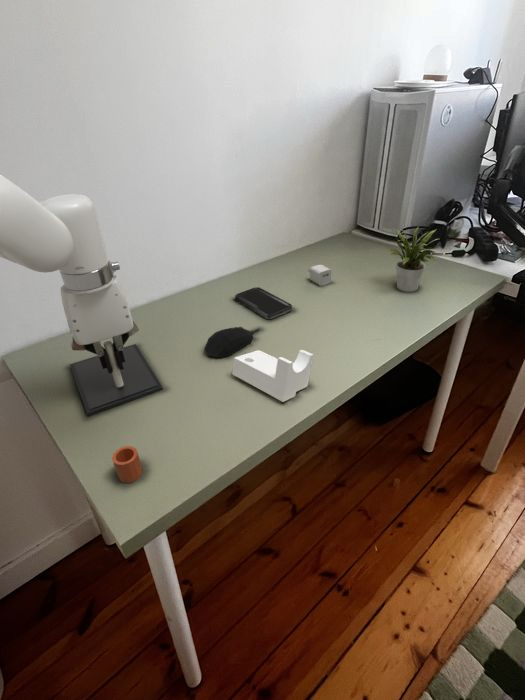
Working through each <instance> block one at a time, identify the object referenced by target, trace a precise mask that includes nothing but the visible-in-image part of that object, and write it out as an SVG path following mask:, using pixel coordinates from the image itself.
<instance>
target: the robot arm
mask: <svg viewBox="0 0 525 700" xmlns="http://www.w3.org/2000/svg"><path fill="white" fill-rule="evenodd" d="M94 205H95V204H94V203H93V200H92V199H90V198H89V196H87V195H84V194H80V193H79V194H78V193H67V194H61V195H56V196H52V197H49V198H47V199H45V200H44V201H38V200H36V199H35V198H34V197H33V196H31V195H30V194H29V193H27V192H26V191H25V190H24V189H22V188H21V187H19V186H18V185H17V184H15V183H14V182H12V180H10V179H8V178H6V177H5V176H4V175H2V174H0V258H2V259H5V260H7V261H10V262H12V263H14V264H18V265H20V266H22V267H24V268H26V269H29V270H31V271H33V272H38V273H53V272H57V271H59V274H60V276H61V279H62V283H63V285H62V286H61V287H60V296H61V303H62V308H63V311H64V315H65V319H66V322H67V325H68V328H69V332H70V334H71V335H70V348H71V350H72V351H74V352H75V351H87V352H89V353H92V354H94V355H96V356H99V359H100V362H101V365H102V368H103V369H105V368H107V370H108V372H109V374H110V373H112V372H113V370H112V367H111V364H110V360H109V357H108V354H107V352H106V351H105V348H104V346H102V344H101V341H106V340H108V339H112V345H113V349H114V353H115V357H116V360H117V364H118V367H119V369H121V370H122V369H124V367H123V364H122V363H123V362H125V358H124V355H123V351H122V350H123V348H124V347H125V344H126V343H127V342H128V340H129V338H130V337H132V336H133V335H135V334H136V333H137V332H139V331H140V328H139V326H138V325H137V324H136V322H135V321H134V320H133V319H134V318H133V315H132V312H131V310H130V307H129V303H128V300H127V298H126V295H125V293H124V290H123V288H122V285H121V283H120V280H119V279H118V277H117V275H116V274H115V272H116V271H119V270H121V267H120V265H119V261H111V260H109V258H108V257H109V256H108V253H107V250H106V245H105V242H104V238H103V234H102V230H101V227H100V222H99V219H98V215H97V212H96V208H95V206H94Z"/></svg>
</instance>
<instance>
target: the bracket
mask: <svg viewBox="0 0 525 700" xmlns="http://www.w3.org/2000/svg"><path fill="white" fill-rule="evenodd" d="M313 360H314V354H313V353H311V352H309V351H306V350H304V349H300V350H299V351H298V354H297V357H296V359H295V360H294V361H291V360H289V359H287V358H285V357H283V356H279V357H278V358H276V357H274V356H273V355H270V354H268V353H266V352H264V351H262V350H260V349H258V350H253V351H250V352H248V353H245V354H241V355H238V356H235V357H233V364H232V372H231V374H232V375H233V376H235V377H236V378H238V379H240V380H241V381H243V382H245V383H247V384H249V385H251V386H252V387H255V388H256V389H259V390H260V391H262V392H264V393H265V394H268V395H269V396H271V397H273V398H275V399H277V400H278V401H280V402H282V403H284V402H286V401H289V400H290V399H293V398H294V397H296V393H297V392H299V391H300V390H303V389H305V388H308V387H309V381H310V375H311V372H312V371H311V370H312V367H313V366H312V365H313Z"/></svg>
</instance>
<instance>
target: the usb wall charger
mask: <svg viewBox="0 0 525 700" xmlns="http://www.w3.org/2000/svg"><path fill="white" fill-rule="evenodd" d="M307 272H308V273H310V274H309V280H310V281H312V282H314V283H315V284H317V285H319V286H321V287H322V286H325V285H327V284H330V283H331V282H332V276H333V275H332V272H333V271H332V269H331V268H329V267H327V266H325V265H323V264H320V263H319V264H317V265H313V266H311V267H310V269H309V268H307Z"/></svg>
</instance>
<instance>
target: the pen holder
mask: <svg viewBox="0 0 525 700" xmlns="http://www.w3.org/2000/svg"><path fill="white" fill-rule="evenodd" d="M111 459H112V463H113V466H114V468H115V472H116V475H117V478H118V480H119V481H120V482H122V483H126V484H129V483H133V482H135V481H138V479H139V478H141V477H142V475H143V465H142V463H141V458H140V456H139V452H138V450H137V448H135V447H134V446H133V445H132V446H131V445H126V446H123V447H120V448H118V449H117V450H115V451H114V453H113V454H112V457H111Z"/></svg>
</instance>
